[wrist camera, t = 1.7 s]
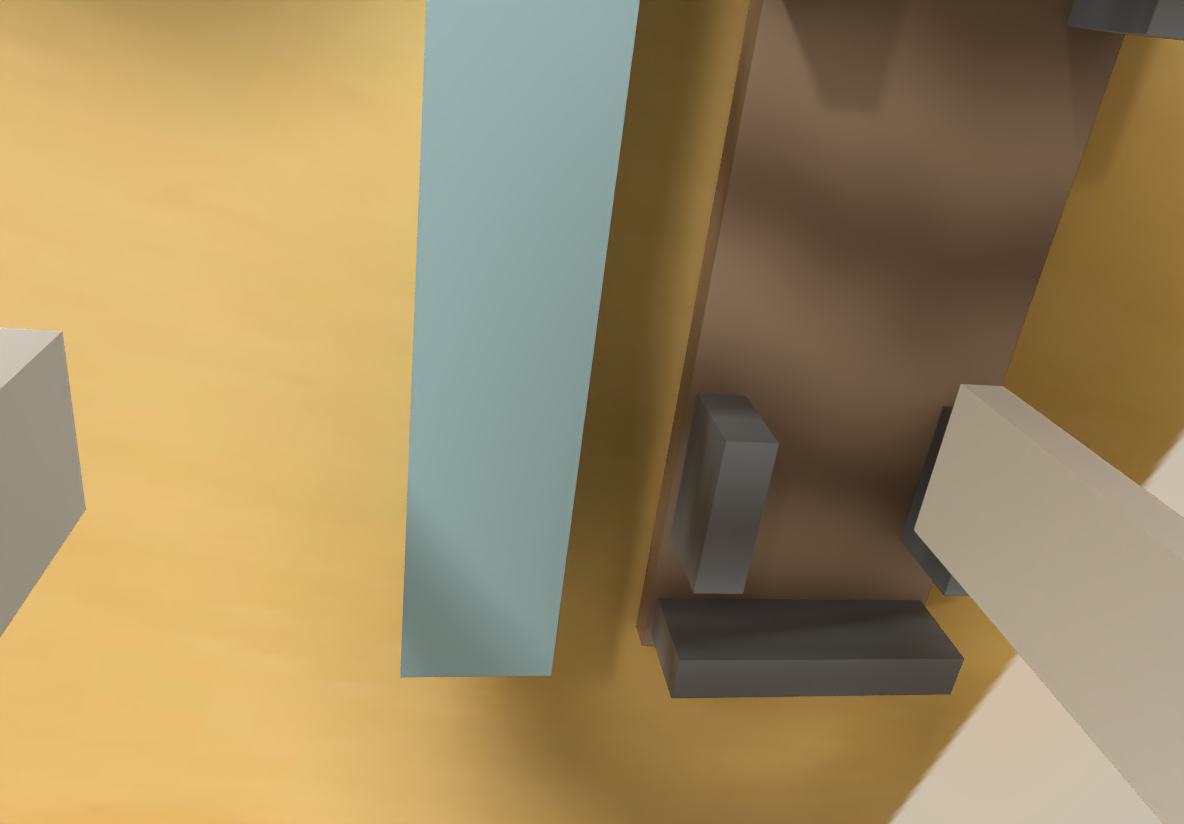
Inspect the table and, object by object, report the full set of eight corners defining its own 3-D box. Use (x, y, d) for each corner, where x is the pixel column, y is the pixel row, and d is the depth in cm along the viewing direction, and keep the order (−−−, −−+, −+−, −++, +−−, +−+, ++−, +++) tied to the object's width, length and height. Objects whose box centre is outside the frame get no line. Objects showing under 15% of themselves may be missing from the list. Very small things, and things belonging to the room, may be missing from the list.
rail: (441, -296, 20) (441, -393, 14) (620, -263, 20) (684, -341, 15) (407, 546, 29) (400, 677, 24) (531, 548, 30) (550, 675, 24)
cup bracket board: (845, -521, 19) (940, -634, 15) (1252, -416, 21) (1421, -495, 17) (636, 626, 31) (661, 710, 28) (898, 626, 33) (952, 705, 30)
